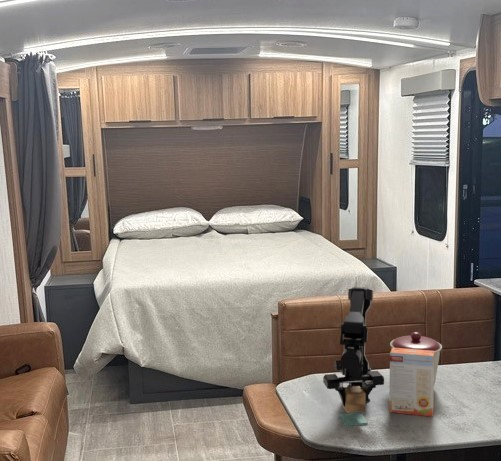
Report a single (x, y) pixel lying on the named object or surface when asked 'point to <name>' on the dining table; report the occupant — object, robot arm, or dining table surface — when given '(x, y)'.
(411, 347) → the canister
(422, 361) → the cracker box
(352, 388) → the walnut cube
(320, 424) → the dining table surface
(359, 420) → the teal pad
